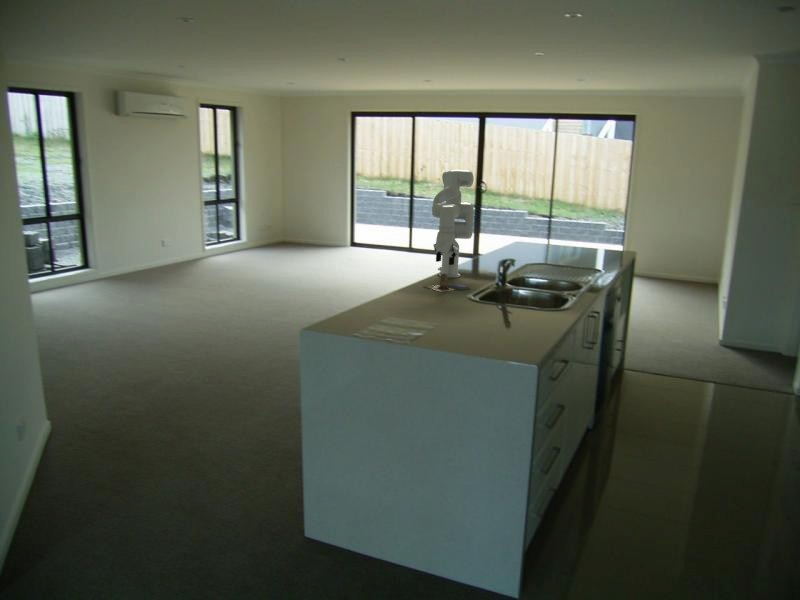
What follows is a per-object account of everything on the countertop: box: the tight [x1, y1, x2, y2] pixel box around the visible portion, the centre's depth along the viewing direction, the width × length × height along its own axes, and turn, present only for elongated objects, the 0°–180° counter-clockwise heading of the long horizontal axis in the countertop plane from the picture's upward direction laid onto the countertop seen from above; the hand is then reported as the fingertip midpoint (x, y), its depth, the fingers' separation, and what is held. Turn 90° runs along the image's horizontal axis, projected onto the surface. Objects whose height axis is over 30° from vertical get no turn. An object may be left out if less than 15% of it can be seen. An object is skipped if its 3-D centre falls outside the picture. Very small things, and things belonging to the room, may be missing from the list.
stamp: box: [438, 273, 449, 290], centre depth 328 cm, size 4×4×8 cm
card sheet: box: [431, 284, 456, 293], centre depth 331 cm, size 14×10×1 cm
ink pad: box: [447, 283, 471, 291], centre depth 334 cm, size 9×7×2 cm
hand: (444, 263), depth 326 cm, fingers open, 9 cm apart
